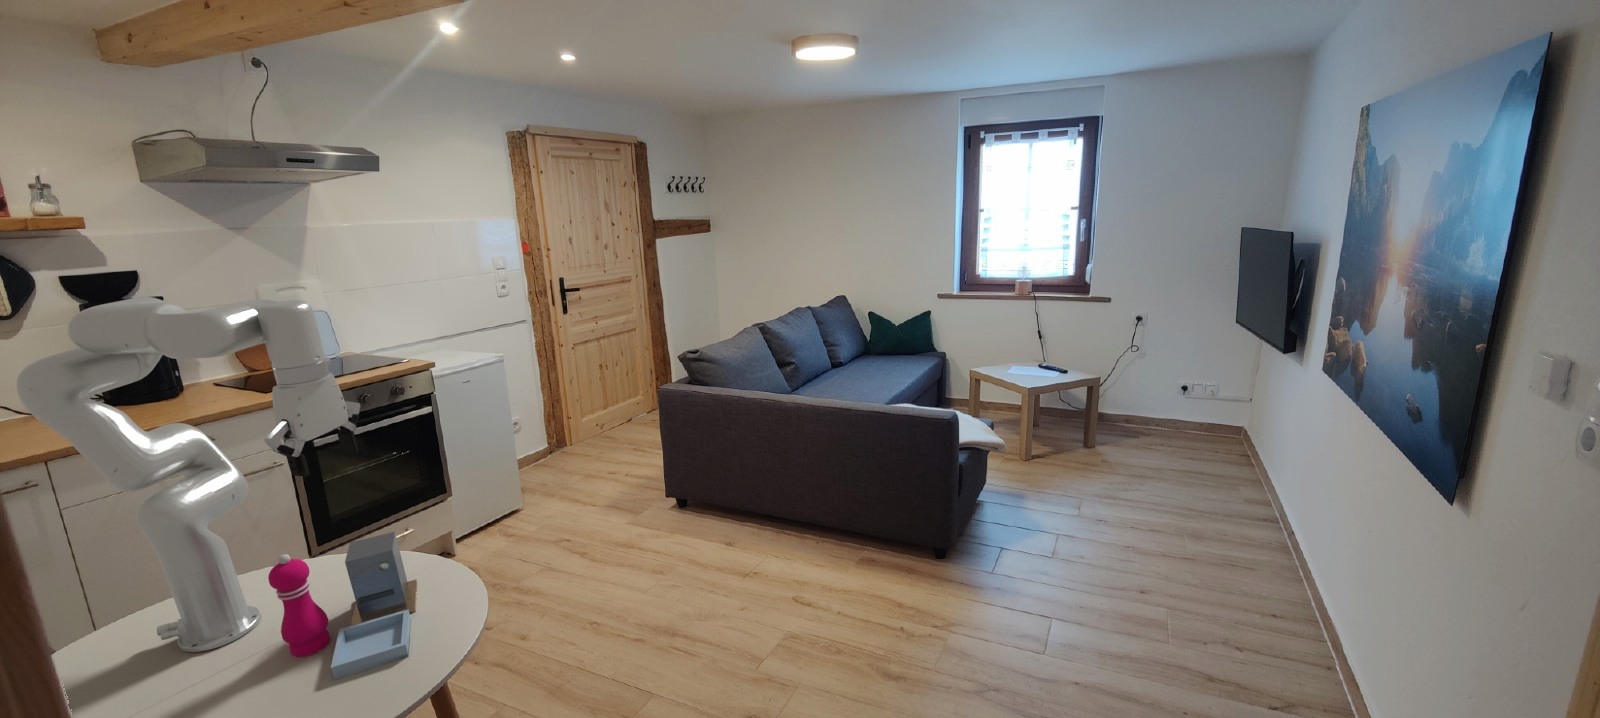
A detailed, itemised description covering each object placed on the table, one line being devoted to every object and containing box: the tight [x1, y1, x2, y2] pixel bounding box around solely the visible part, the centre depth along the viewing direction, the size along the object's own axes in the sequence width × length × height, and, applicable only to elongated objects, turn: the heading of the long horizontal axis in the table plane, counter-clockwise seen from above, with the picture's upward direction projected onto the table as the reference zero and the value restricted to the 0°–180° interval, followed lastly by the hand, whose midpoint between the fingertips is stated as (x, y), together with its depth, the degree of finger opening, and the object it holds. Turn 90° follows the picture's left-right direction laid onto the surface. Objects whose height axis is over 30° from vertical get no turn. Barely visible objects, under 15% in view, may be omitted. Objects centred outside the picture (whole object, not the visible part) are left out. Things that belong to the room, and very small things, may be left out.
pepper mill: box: [268, 553, 332, 659], centre depth 125 cm, size 7×7×20 cm
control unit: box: [344, 531, 418, 626], centre depth 137 cm, size 11×11×14 cm
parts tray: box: [330, 610, 412, 680], centre depth 126 cm, size 12×12×3 cm
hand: (326, 463), depth 121 cm, fingers open, 9 cm apart
